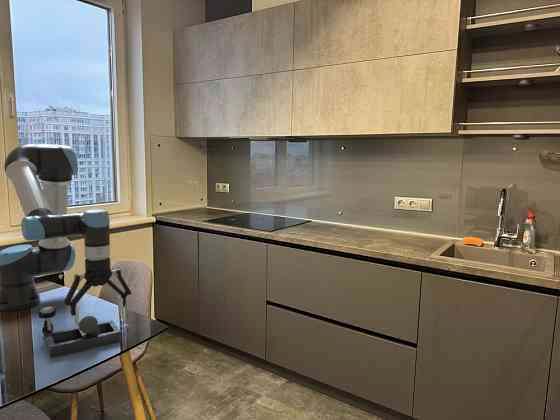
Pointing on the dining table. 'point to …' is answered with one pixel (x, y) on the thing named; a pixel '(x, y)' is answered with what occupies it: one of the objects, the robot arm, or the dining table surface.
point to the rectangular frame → (81, 339)
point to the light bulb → (89, 325)
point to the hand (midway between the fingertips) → (99, 320)
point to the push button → (47, 319)
